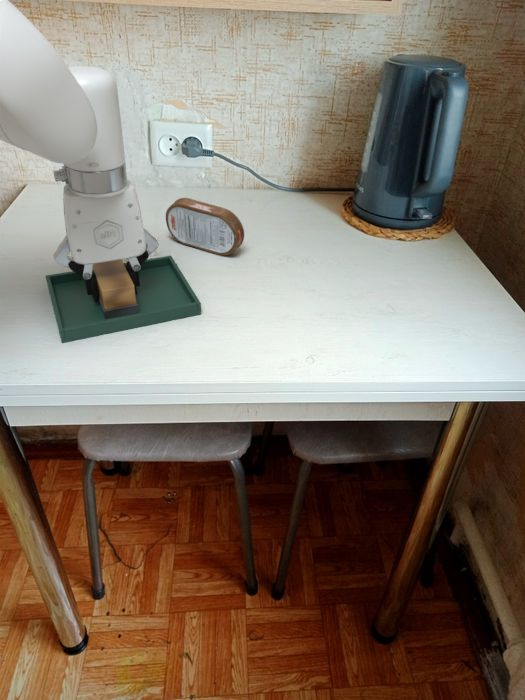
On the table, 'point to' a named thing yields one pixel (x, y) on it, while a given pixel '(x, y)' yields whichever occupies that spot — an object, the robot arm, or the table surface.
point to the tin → (204, 226)
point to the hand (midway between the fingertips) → (114, 292)
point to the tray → (152, 297)
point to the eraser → (115, 289)
